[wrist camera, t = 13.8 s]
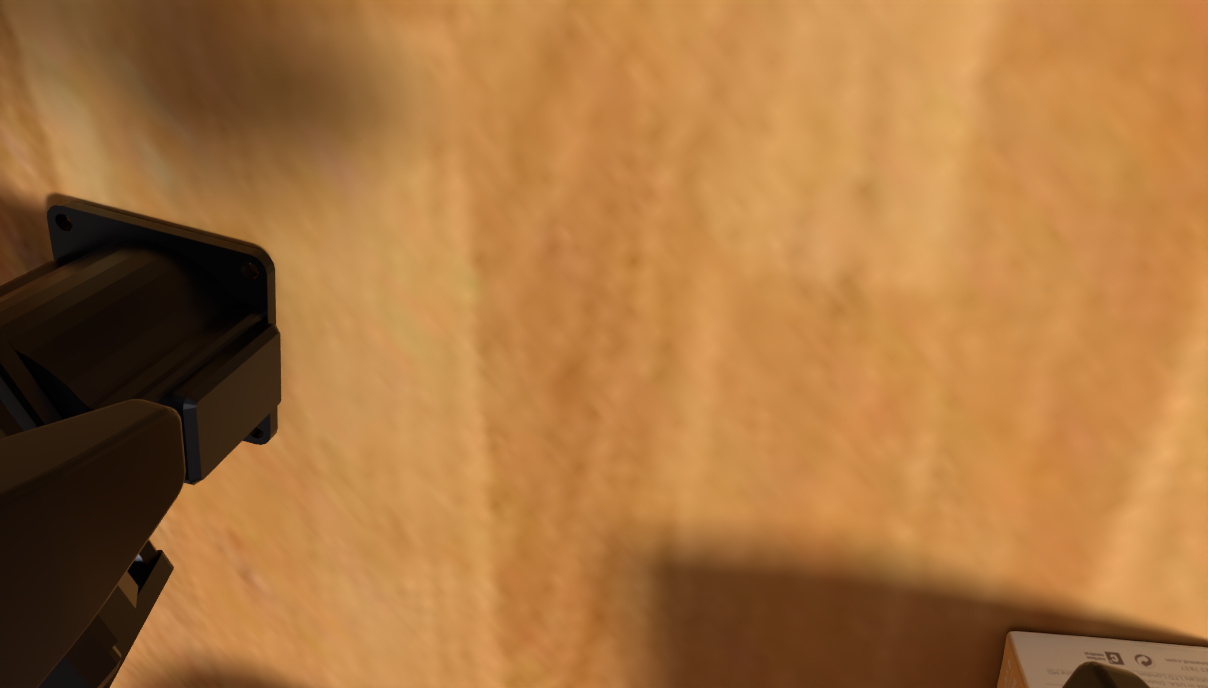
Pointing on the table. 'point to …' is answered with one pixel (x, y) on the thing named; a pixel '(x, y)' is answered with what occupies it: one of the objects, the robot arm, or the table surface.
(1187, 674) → the small box
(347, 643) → the table surface
